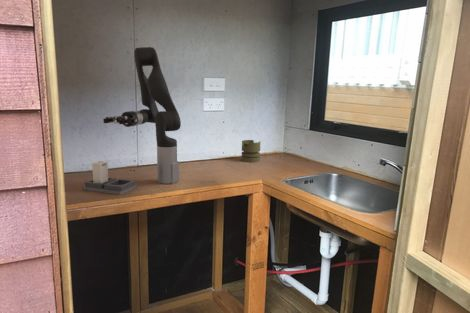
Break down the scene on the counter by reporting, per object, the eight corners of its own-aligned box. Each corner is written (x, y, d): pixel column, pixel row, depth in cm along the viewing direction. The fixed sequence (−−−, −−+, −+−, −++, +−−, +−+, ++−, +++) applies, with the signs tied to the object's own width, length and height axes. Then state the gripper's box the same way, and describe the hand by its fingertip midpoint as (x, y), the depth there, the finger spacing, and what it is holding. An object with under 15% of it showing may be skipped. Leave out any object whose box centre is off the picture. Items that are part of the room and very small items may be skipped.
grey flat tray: (136, 187, 164) (136, 180, 163) (120, 194, 153) (120, 187, 152) (101, 182, 170) (100, 176, 169) (83, 189, 159) (82, 182, 158)
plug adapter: (108, 183, 164) (107, 161, 162) (101, 186, 160) (99, 164, 158) (100, 182, 166) (99, 161, 164) (93, 185, 161) (92, 163, 159)
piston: (251, 139, 232) (264, 141, 224) (250, 158, 234) (263, 161, 226) (238, 141, 224) (251, 143, 216) (237, 160, 227) (250, 163, 219)
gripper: (119, 110, 186) (98, 112, 171) (144, 111, 181) (124, 114, 166) (120, 125, 187) (99, 128, 172) (144, 126, 183) (125, 130, 168)
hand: (111, 121), depth 169 cm, fingers open, 8 cm apart
